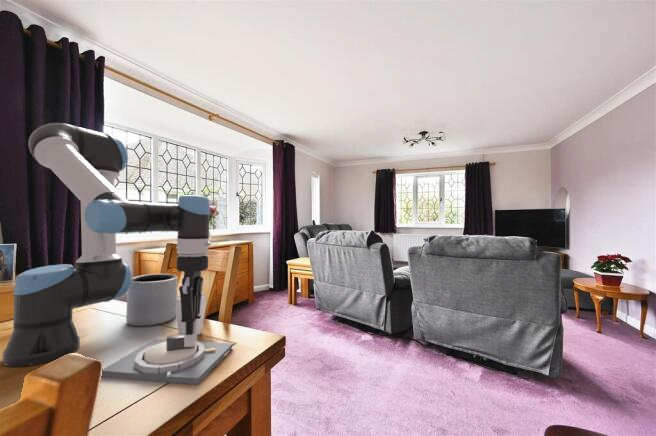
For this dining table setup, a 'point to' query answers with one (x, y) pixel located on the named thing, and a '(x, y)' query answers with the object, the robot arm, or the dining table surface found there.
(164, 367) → the panel
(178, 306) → the cup
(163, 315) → the planter
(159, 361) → the dial
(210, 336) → the dining table surface
